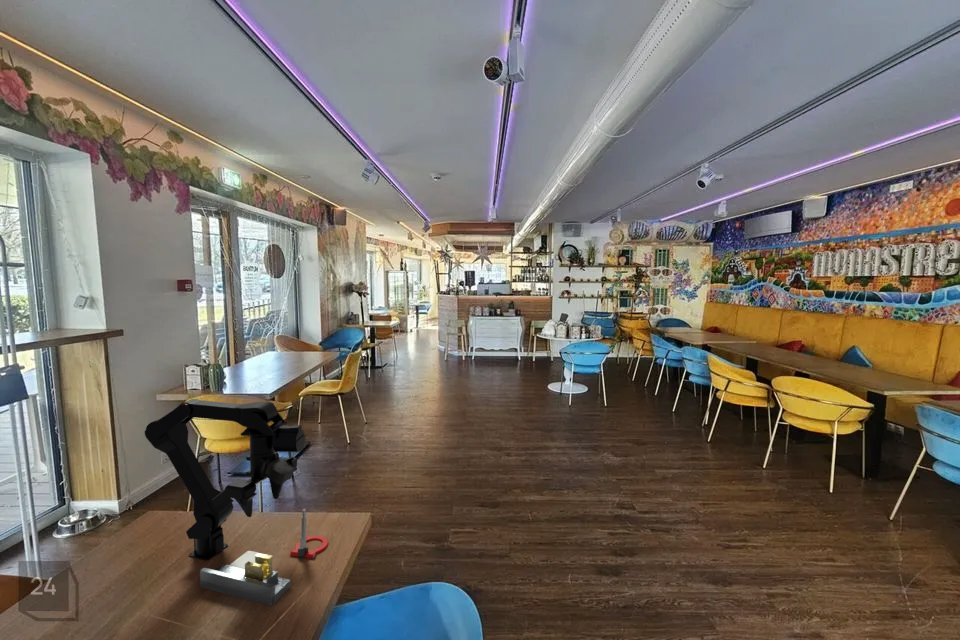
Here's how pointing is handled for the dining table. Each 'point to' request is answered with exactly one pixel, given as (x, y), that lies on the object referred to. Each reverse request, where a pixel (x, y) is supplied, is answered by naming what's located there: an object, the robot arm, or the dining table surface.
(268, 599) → the rack flange
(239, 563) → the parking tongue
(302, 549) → the tow hook
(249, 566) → the bracket
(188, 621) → the dining table surface
